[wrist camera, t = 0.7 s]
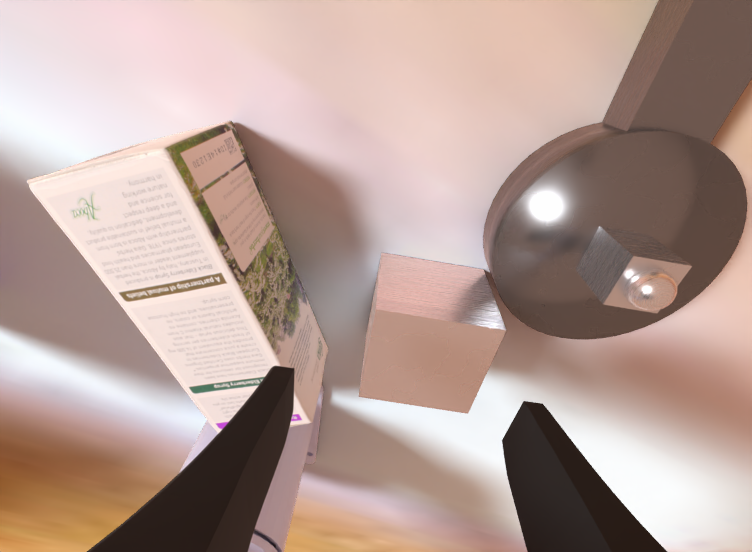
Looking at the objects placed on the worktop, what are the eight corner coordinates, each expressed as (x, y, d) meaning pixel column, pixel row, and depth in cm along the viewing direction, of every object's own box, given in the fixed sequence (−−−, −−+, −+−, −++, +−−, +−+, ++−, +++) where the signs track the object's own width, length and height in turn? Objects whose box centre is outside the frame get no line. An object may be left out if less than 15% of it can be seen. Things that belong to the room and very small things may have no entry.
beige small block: (455, 345, 22) (467, 413, 18) (366, 330, 22) (358, 396, 18) (483, 269, 19) (506, 330, 15) (381, 252, 19) (375, 309, 15)
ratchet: (629, 322, 21) (706, 412, 15) (459, 293, 20) (479, 376, 15) (1035, -259, 10) (1770, -620, 4) (679, -340, 9) (1025, -827, 4)
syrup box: (15, 182, 12) (213, 439, 19) (169, 142, 11) (315, 429, 18) (124, 145, 17) (249, 362, 24) (238, 115, 16) (332, 350, 23)
